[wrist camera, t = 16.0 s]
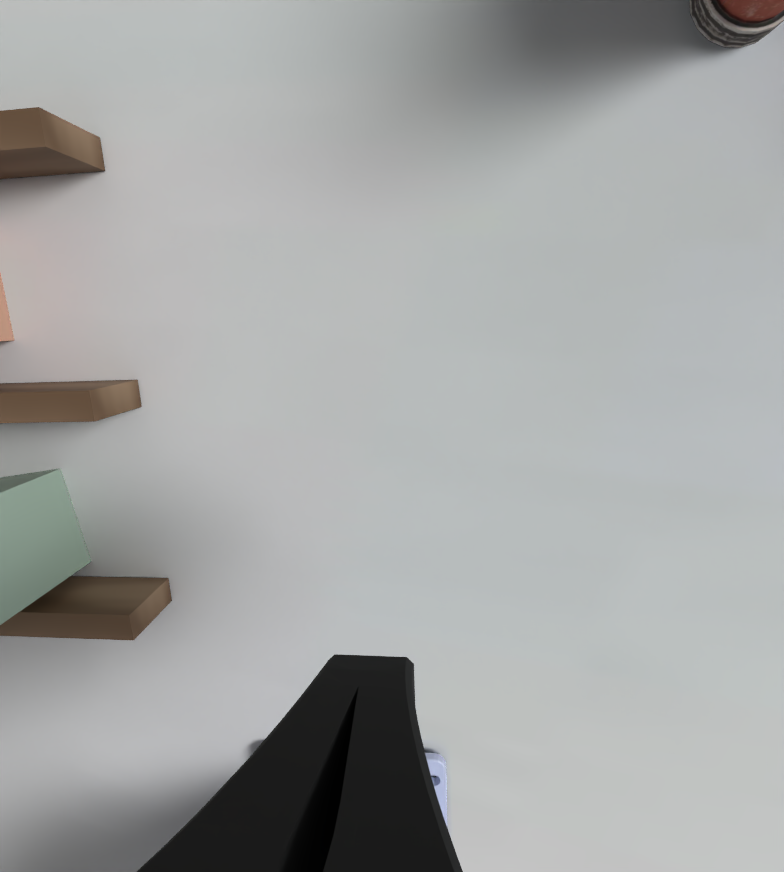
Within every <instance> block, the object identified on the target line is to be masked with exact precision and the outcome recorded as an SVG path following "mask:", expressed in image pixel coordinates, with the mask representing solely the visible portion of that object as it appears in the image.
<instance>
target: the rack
mask: <svg viewBox="0 0 784 872" xmlns="http://www.w3.org/2000/svg"><path fill="white" fill-rule="evenodd" d="M97 171H105V167H104V161H103V154H102V148H101V142H100V137H97V136H95V135H93V134H91V133H89V132H87V131H85V130H83V129H81V128H79V127H77V126H75V125H73V124H71V123H69V122H67V121H65V120H63V119H61V118H59V117H57V116H55V115H53V114H51V113H49V112H47V111H45V110H43V109H41V108H39V107H37V108H26V109H16V110H5V111H0V179H6V178H19V177H32V176H45V175H58V174H71V173H84V172H97ZM139 407H142V406H141V399H140V393H139V386H138V380H113V381H76V382H39V383H2V384H0V423H27V422H84V421H97V420H101V419H104V418H107V417H110V416H113V415H117V414H120V413H123V412H126V411H130V410H133V409H136V408H139ZM171 601H172V599H171V593H170V586H169V580H168V578H131V577H81V576H70V577H68V578H67V579H66V580H64V581H63V582H61V583H60V584H58V585H57V586H56V587H54V588H53V589H51V590H50V591H48V592H47V593H46V594H44V595H43V596H41V597H40V598H38V599H37V600H35V601H34V602H33V603H31V604H30V605H28V606H27V607H25V608H24V609H23V610H21V611H20V612H18V613H17V614H15V615H14V616H13V617H11V618H10V619H8V620H7V621H5V622H4V623H3V624H1V625H0V636H27V637H55V638H84V639H113V640H134V639H135V638H136V637H137V636H138V635H139V634H140V633H141V632H142V631H143V630H144V629H145V628H146V627H147V626H148V625H149V624H150V623H151V622H152V621H153V620H154V619H155V617H156V616H157V615H158V614H159V613H160V612H161V611H162V610H163V609H164V608H165V607H166V606H167V605H168V604H169V603H170V602H171Z"/></svg>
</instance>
